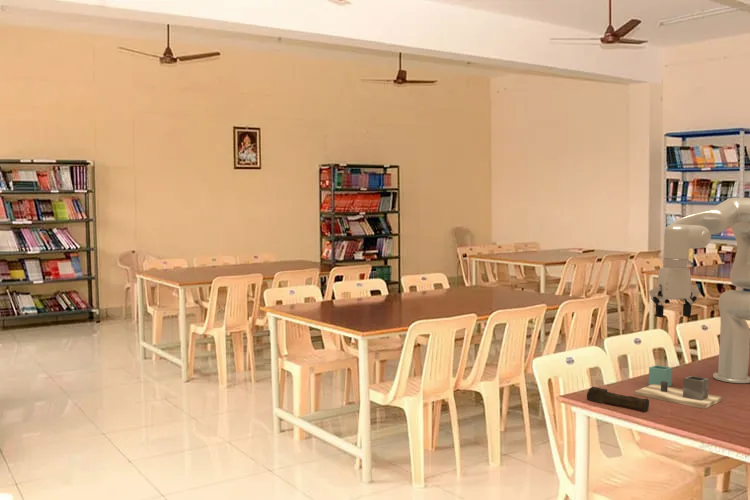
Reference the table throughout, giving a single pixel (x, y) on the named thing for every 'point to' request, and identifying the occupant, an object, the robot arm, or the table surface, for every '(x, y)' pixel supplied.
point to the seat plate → (683, 393)
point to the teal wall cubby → (660, 375)
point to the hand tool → (617, 399)
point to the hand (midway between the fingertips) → (673, 316)
